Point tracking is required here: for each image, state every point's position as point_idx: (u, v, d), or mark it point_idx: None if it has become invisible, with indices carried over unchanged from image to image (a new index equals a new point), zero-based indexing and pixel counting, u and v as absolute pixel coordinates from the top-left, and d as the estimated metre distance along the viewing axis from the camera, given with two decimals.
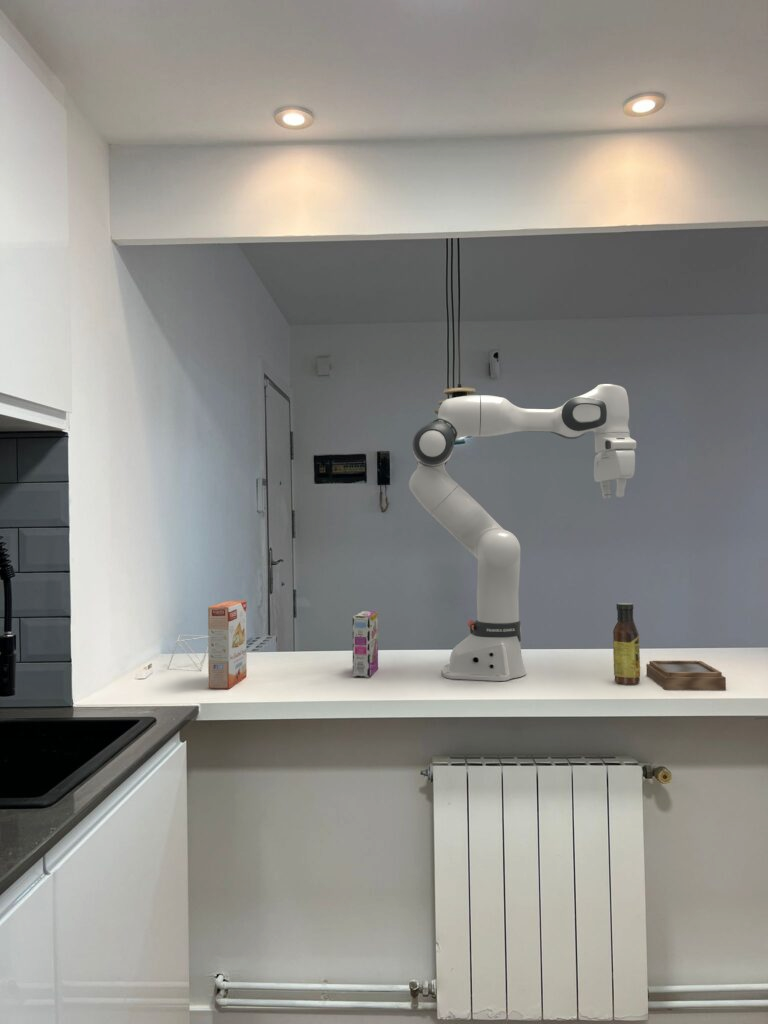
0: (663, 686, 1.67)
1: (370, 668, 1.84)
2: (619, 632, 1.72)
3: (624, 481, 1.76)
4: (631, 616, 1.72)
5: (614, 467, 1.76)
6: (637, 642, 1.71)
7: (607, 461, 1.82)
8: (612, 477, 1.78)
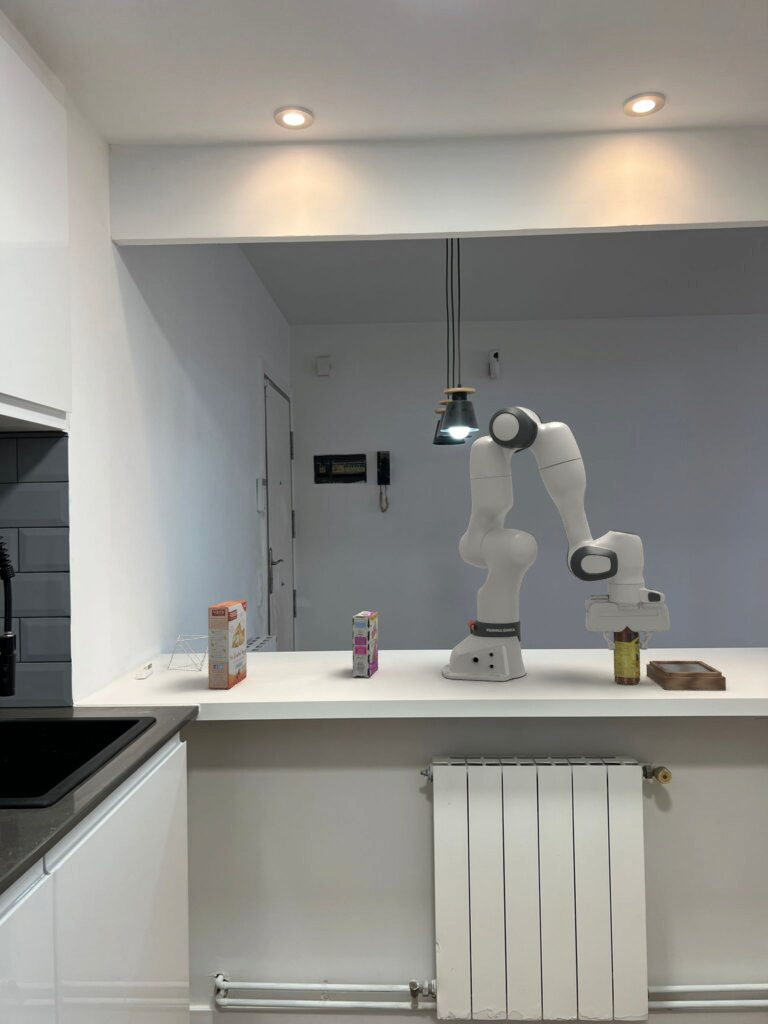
0: (663, 686, 1.67)
1: (370, 668, 1.84)
2: (619, 632, 1.72)
3: None
4: None
5: (654, 619, 1.71)
6: (637, 642, 1.71)
7: (630, 612, 1.72)
8: (647, 630, 1.71)
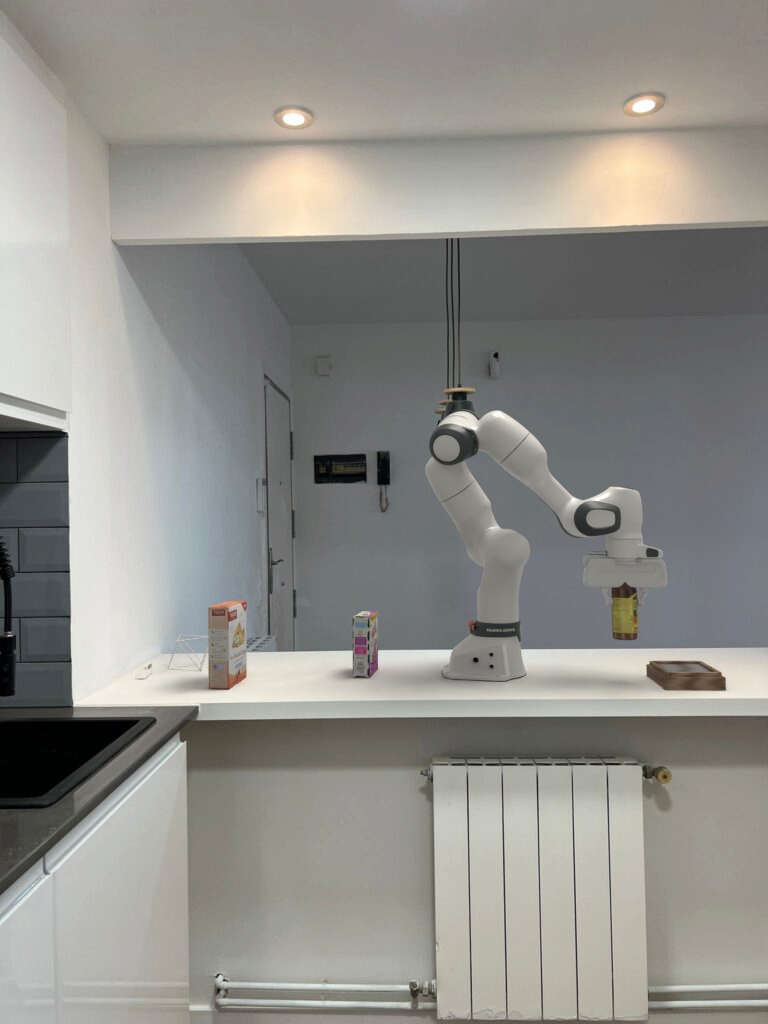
0: (663, 686, 1.67)
1: (370, 668, 1.84)
2: (617, 588, 1.72)
3: None
4: None
5: (651, 575, 1.71)
6: (635, 598, 1.71)
7: (627, 567, 1.72)
8: (644, 585, 1.71)
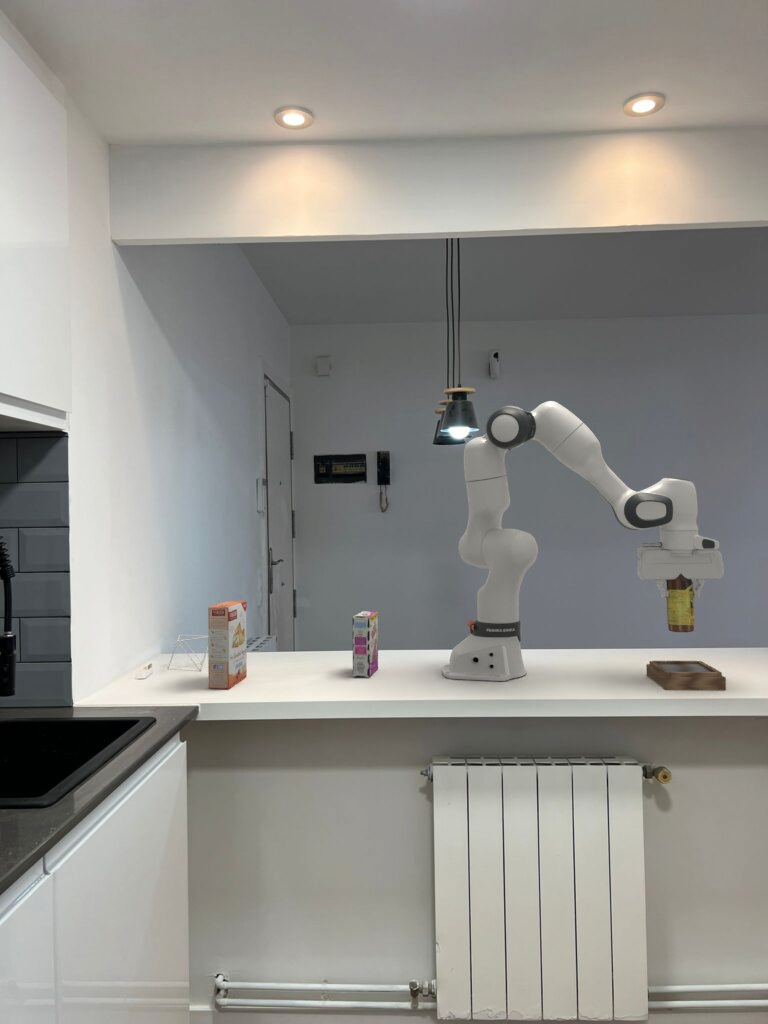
0: (663, 686, 1.67)
1: (370, 668, 1.84)
2: (673, 580, 1.71)
3: None
4: None
5: (708, 567, 1.70)
6: (691, 590, 1.70)
7: (683, 559, 1.71)
8: (700, 577, 1.70)
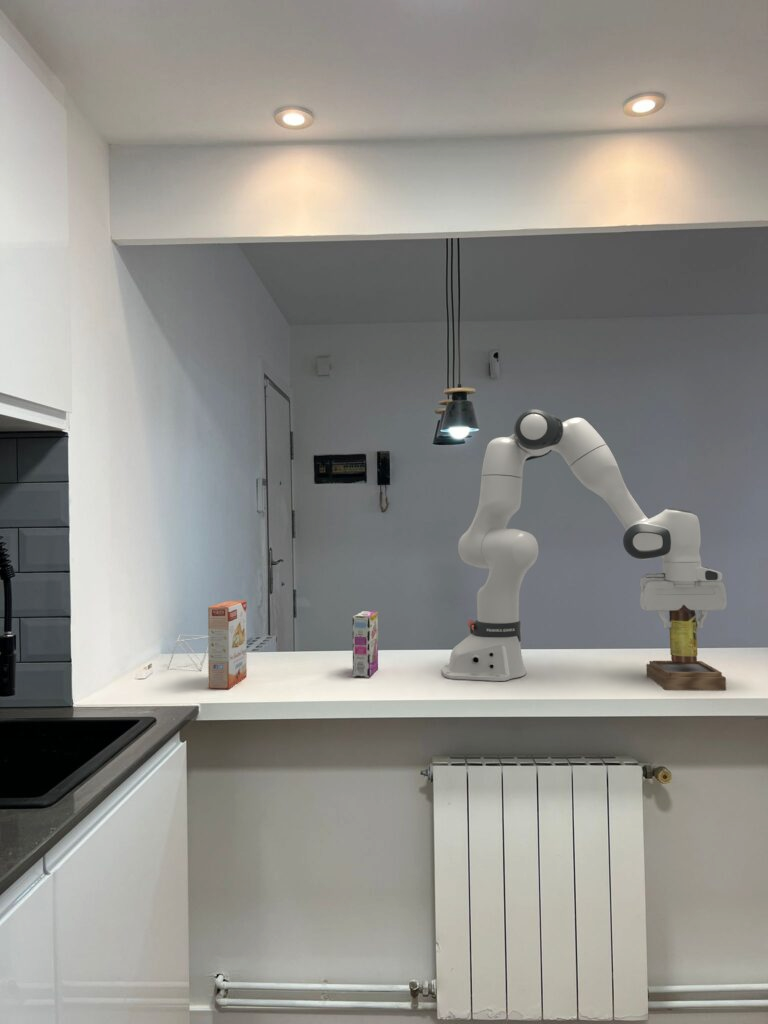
0: (663, 686, 1.67)
1: (370, 668, 1.84)
2: (676, 611, 1.71)
3: None
4: None
5: (710, 598, 1.70)
6: (694, 621, 1.70)
7: (686, 590, 1.71)
8: (703, 608, 1.70)
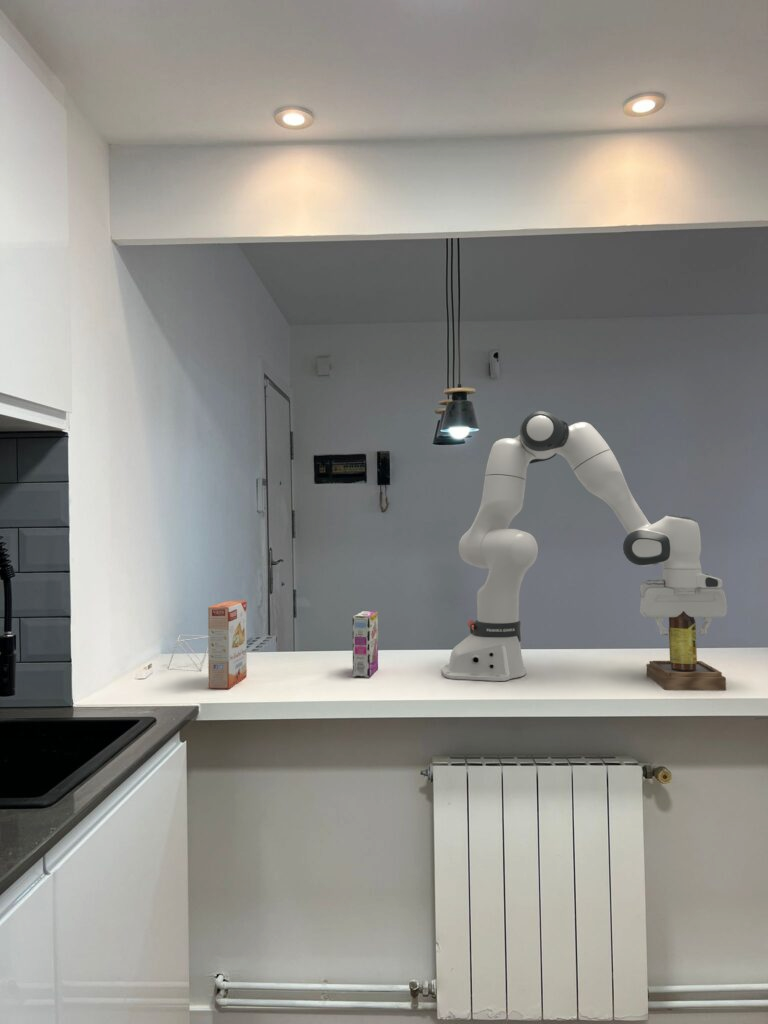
0: (663, 686, 1.67)
1: (370, 668, 1.84)
2: (675, 619, 1.71)
3: None
4: None
5: (711, 605, 1.70)
6: (694, 628, 1.70)
7: (686, 597, 1.71)
8: (703, 615, 1.70)
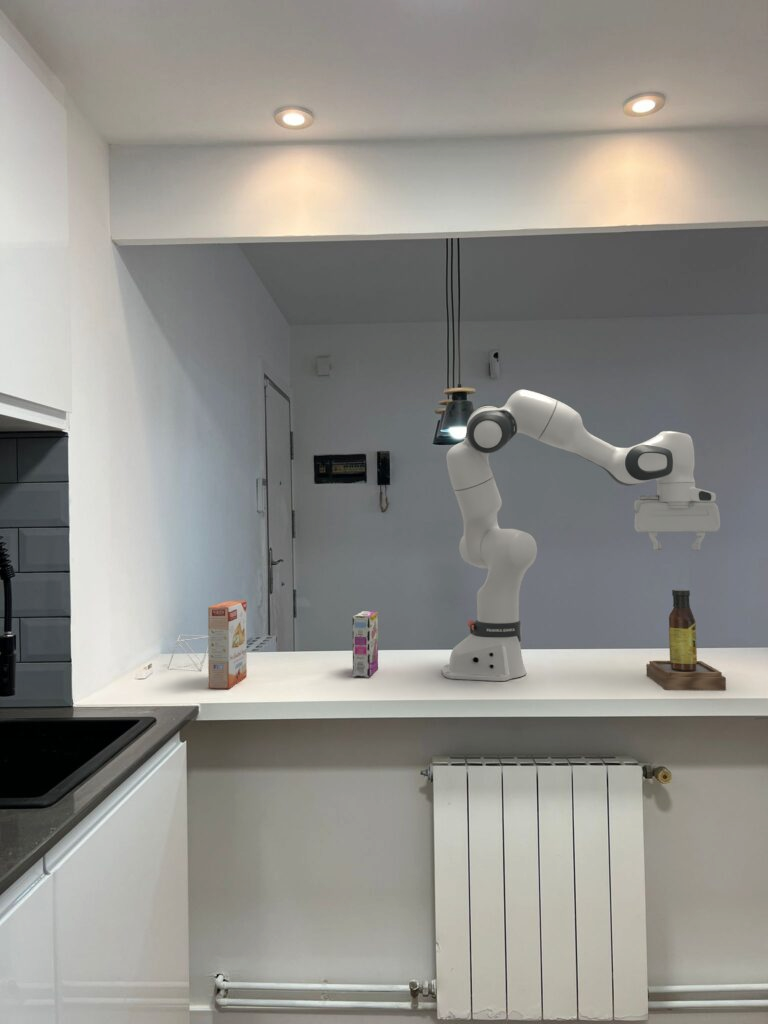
0: (663, 686, 1.67)
1: (370, 668, 1.84)
2: (675, 619, 1.71)
3: None
4: (688, 602, 1.71)
5: (704, 519, 1.72)
6: (694, 628, 1.70)
7: (680, 511, 1.72)
8: (697, 529, 1.72)
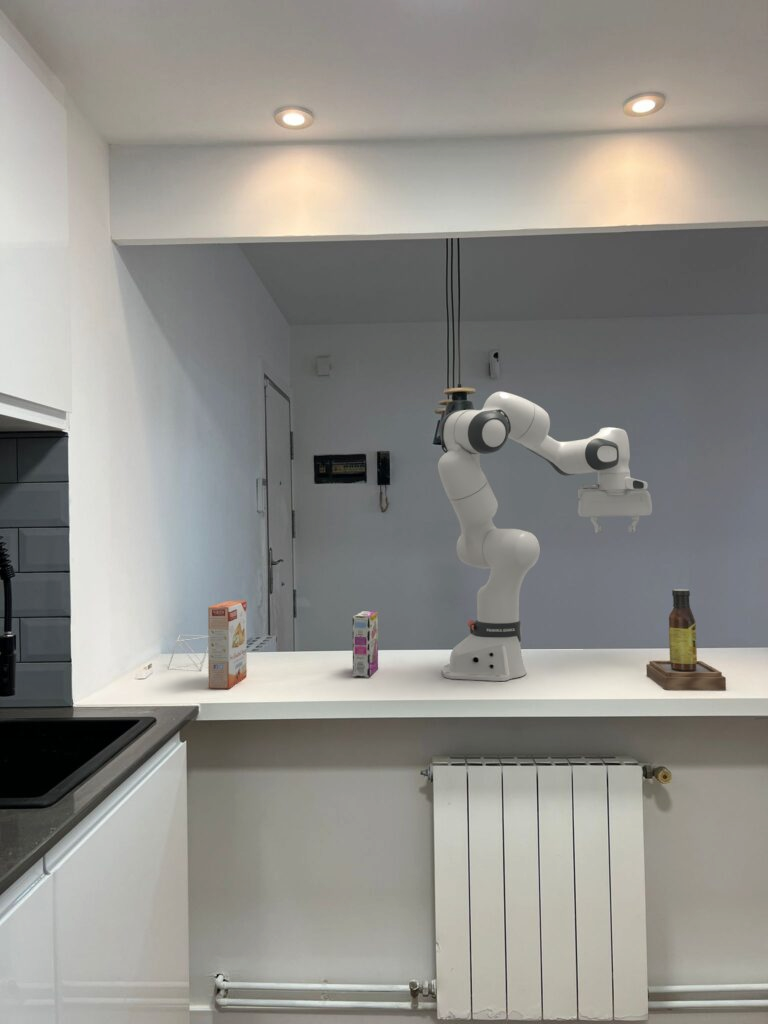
0: (663, 686, 1.67)
1: (370, 668, 1.84)
2: (675, 619, 1.71)
3: None
4: (688, 602, 1.71)
5: (638, 505, 1.96)
6: (694, 628, 1.70)
7: (617, 498, 1.97)
8: (632, 514, 1.96)
